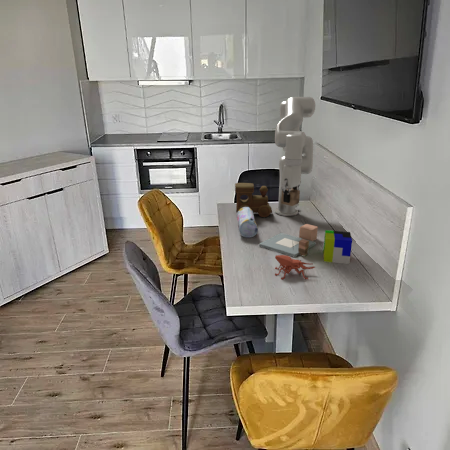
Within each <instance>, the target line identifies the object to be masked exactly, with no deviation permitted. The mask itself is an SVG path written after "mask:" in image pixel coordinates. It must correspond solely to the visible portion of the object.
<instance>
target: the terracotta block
mask: <svg viewBox="0 0 450 450" xmlns="http://www.w3.org/2000/svg"><path fill="white" fill-rule="evenodd" d="M318 229H319V227H318V226H316V225H312V224H309V223H306V224H305V223H304V224H303V225H301V226H300V227H299V234H298V237H299V238H302V239H306V240H310V241H313V242H315V241H316V240H317V239H318V238H317V237H318V231H319V230H318Z"/></svg>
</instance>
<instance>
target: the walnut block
mask: <svg viewBox="0 0 450 450" xmlns="http://www.w3.org/2000/svg"><path fill="white" fill-rule="evenodd" d="M286 190H287V191H288V189H286ZM300 194H301V190H300V189H299V190H295V189H291V190H290V203H286V202H283V197H284V194H283V191H282V197H281V204H285V205H290V206H294V205H296V204H300V196H301V195H300Z"/></svg>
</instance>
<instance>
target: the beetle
mask: <svg viewBox="0 0 450 450" xmlns="http://www.w3.org/2000/svg"><path fill="white" fill-rule="evenodd" d="M293 249H294V246H293ZM274 259H276V261H277V262H278V264H279V267H278V266H275V268H274V269H275V270H278V273H274V276H276V277H277V276H279V275H280V274H281V272H284V275H283V277H280V280H283V281H284V279H286V275H288V274H290V273H291V272H292V270H294V271H295V272H296V273H297V274H299V275H300V274H301V273H302V276H303V279H304V278H305V280H306V279H307V280H308V279H309V278H308V277H306V276H305V274H304V273H305V271H304V270H311V269H312V270H313V269H315V268H316V266H306V265H312V262H311V263H309V262H304V261H302V260H299V259H294V258H292V256H289V255H286V254H280V255H277V254H276V255H275V258H274ZM300 268H301V269H300ZM299 269H300V270H299ZM303 269H304V270H303Z"/></svg>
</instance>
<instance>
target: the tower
mask: <svg viewBox="0 0 450 450" xmlns="http://www.w3.org/2000/svg"><path fill="white" fill-rule="evenodd" d="M308 248H309V241H308V240H304V239H302V240H300V241H299V249H298V252H299V254H300V255H299V256H302V255H303V257H305V255H306V256H307V255H308V254H309V249H310V248H309V249H308Z"/></svg>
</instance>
